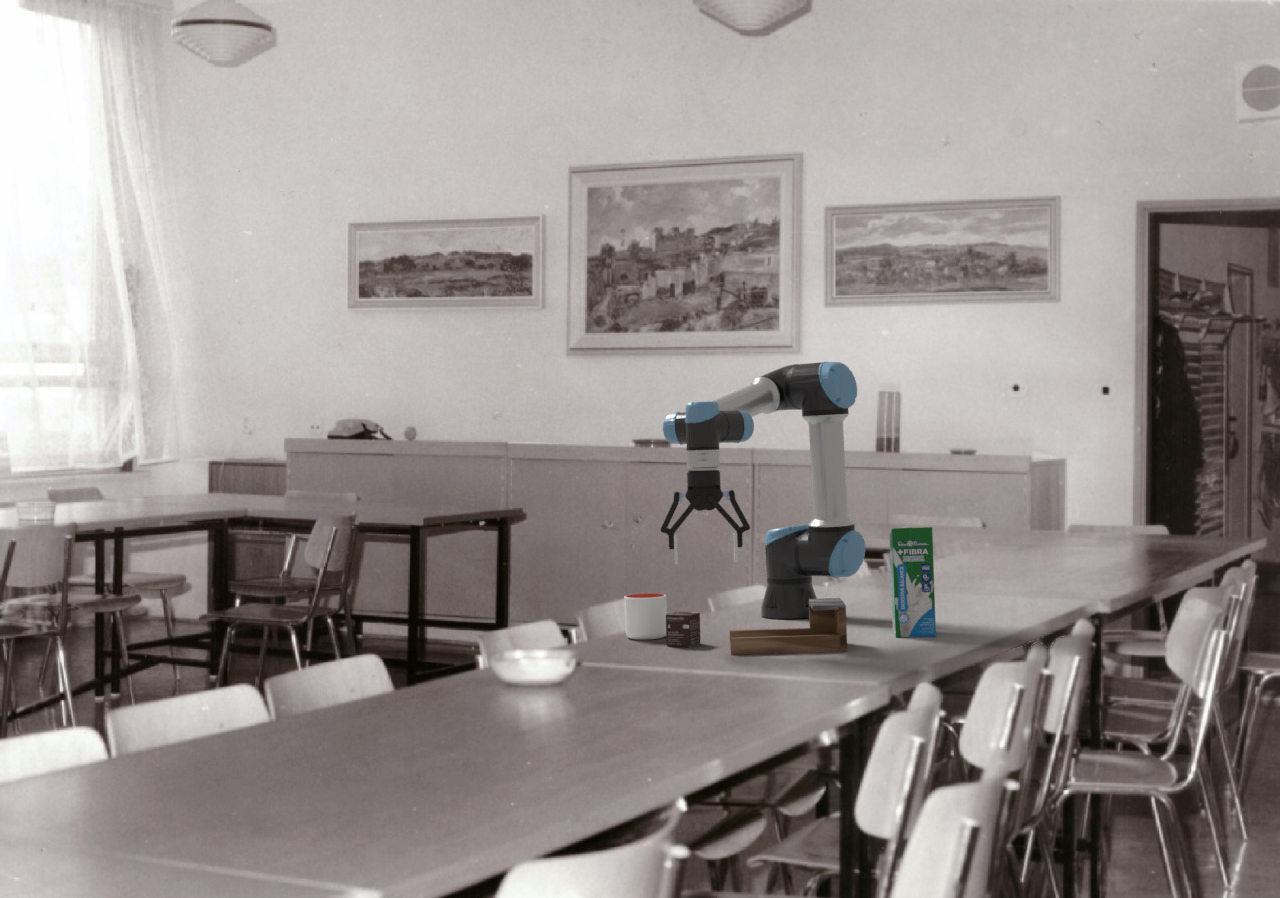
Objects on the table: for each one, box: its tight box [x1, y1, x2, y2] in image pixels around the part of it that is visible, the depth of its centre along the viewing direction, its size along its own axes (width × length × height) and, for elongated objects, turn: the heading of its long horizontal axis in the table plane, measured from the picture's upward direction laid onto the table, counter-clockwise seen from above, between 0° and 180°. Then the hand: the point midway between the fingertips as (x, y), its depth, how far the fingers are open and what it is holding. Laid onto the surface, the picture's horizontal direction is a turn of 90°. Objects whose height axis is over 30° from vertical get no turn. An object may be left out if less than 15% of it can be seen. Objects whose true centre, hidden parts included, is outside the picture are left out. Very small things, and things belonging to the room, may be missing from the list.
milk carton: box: [889, 525, 937, 638], centre depth 332 cm, size 9×9×25 cm
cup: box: [623, 592, 668, 641], centre depth 343 cm, size 10×10×10 cm
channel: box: [729, 597, 848, 656], centre depth 318 cm, size 13×25×10 cm, turn 87°
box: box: [666, 610, 701, 648], centre depth 329 cm, size 6×6×7 cm
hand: (706, 563), depth 328 cm, fingers open, 13 cm apart
